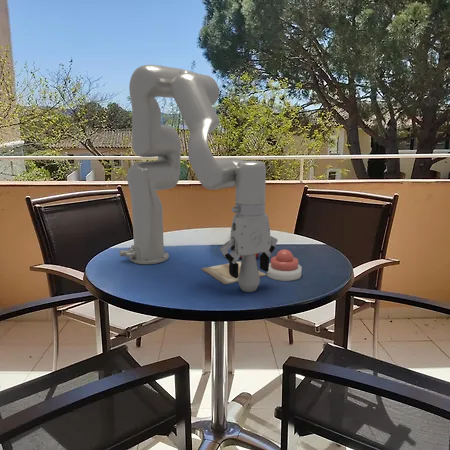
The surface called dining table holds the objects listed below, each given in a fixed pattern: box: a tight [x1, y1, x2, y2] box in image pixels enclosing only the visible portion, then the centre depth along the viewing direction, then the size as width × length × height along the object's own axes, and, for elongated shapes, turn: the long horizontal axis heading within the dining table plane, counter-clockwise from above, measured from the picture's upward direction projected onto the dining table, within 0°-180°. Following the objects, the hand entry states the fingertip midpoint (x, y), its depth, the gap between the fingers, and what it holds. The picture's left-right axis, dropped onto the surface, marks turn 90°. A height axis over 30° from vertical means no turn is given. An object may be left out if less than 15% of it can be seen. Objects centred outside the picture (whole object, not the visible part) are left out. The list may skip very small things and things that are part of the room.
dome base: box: [266, 262, 303, 282], centre depth 120 cm, size 10×10×2 cm
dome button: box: [270, 249, 299, 271], centre depth 120 cm, size 8×8×5 cm
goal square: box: [201, 260, 267, 285], centre depth 122 cm, size 14×14×1 cm
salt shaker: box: [238, 254, 261, 293], centre depth 109 cm, size 6×6×13 cm
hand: (249, 273), depth 109 cm, fingers open, 9 cm apart
